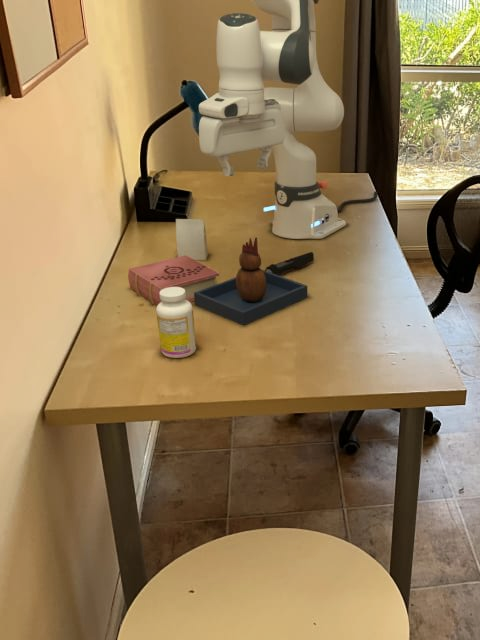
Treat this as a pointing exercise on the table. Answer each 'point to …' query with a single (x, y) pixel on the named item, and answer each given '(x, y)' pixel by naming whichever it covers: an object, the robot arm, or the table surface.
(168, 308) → the supplement bottle
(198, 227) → the white folded card
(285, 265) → the electric trimmer
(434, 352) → the table surface
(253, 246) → the wooden figurine
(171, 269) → the book
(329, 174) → the table surface
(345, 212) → the table surface
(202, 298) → the tray
